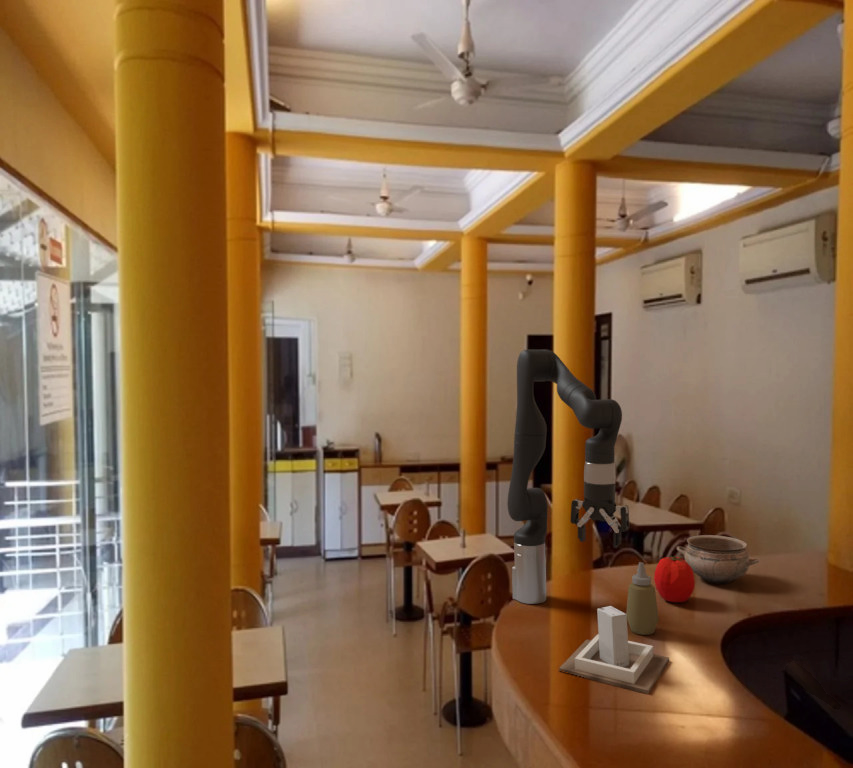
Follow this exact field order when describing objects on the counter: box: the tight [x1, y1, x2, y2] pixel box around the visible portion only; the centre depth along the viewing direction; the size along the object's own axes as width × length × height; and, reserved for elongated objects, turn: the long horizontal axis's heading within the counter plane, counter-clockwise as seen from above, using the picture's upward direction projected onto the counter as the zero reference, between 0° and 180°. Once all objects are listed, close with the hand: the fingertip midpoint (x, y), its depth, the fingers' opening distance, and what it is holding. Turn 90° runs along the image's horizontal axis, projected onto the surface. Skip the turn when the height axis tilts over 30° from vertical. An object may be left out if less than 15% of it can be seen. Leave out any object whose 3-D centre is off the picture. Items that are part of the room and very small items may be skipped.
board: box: [558, 639, 670, 695], centre depth 150 cm, size 20×18×1 cm
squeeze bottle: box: [625, 561, 660, 636], centre depth 169 cm, size 8×8×18 cm
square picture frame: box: [575, 633, 654, 684], centre depth 150 cm, size 13×15×2 cm
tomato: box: [653, 555, 696, 603], centre depth 190 cm, size 12×12×13 cm
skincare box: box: [596, 605, 629, 667], centre depth 151 cm, size 6×4×12 cm
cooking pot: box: [676, 534, 760, 585], centre depth 207 cm, size 25×19×12 cm
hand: (599, 543), depth 162 cm, fingers open, 8 cm apart
